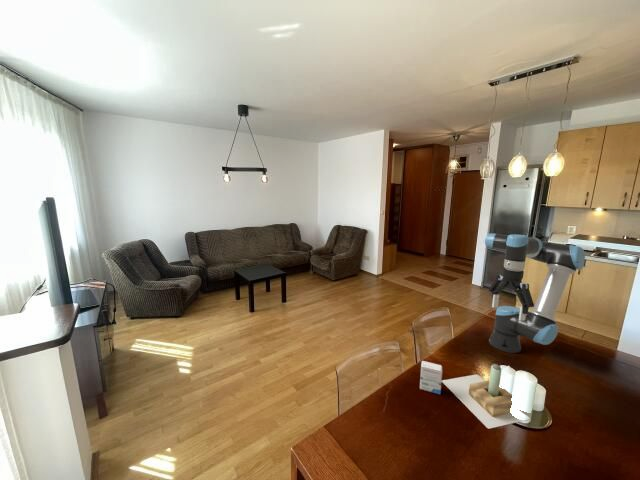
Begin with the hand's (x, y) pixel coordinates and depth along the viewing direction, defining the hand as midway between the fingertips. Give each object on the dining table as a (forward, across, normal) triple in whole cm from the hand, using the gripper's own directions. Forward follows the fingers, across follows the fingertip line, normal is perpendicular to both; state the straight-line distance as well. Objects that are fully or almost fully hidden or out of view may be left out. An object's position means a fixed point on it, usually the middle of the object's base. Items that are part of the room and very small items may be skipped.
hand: (507, 313), depth 121 cm
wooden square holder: (+31, +14, -19) cm, 39 cm away
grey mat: (+32, +11, -21) cm, 40 cm away
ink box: (+32, +1, -39) cm, 50 cm away
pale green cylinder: (+31, +14, -19) cm, 39 cm away
